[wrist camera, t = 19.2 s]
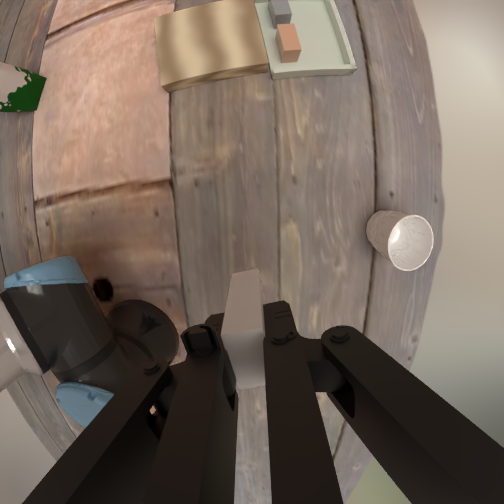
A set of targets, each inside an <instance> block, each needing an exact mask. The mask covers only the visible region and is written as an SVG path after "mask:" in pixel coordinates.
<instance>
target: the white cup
mask: <svg viewBox="0 0 504 504" xmlns="http://www.w3.org/2000/svg"><path fill="white" fill-rule="evenodd" d="M366 235H367V239H368V241H369V242H370V243H371V245H372V246H373V247H374V248H375V249H376V250H377V251H378V252H379V253H381V254H382V255H383V256H384V257H385V258H386V259H387V260H389V261H390V262H391V263H392V264H393V265H394V266H396V267H397V268H398V269H400V270H403V271H412V270H415V269H417V268H419V267H420V266H422V265H423V264H424V263H425V262H426V260H427V259H428V257H429V256H430V254H431V251H432V248H433V232H432V228H431V226H430V224H429V223H428V222H427V221H426V220H425V219H424V218H423V217H421V216H418V215H413V214H408V213H404V212H398V211H390V210H379V211H378V212H376V213H374V214H373V215H372V216H371V218H370V219H369V221H368V222H367V227H366Z"/></svg>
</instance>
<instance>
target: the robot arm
mask: <svg viewBox="0 0 504 504" xmlns="http://www.w3.org/2000/svg"><path fill="white" fill-rule="evenodd" d="M4 288H5V289H7V290H6V291H4V292H2V293H1V294H0V392H1V391H2V390H4V389H5V388H6V387H7V386H9V385H10V384H11V383H13V382H14V381H15V380H17V379H18V378H19V377H20V376H22V375H23V374H24V373H27V372H30V373H34V374H38V375H43V374H44V373H46V372H47V371H48V370H50V369H51V371H52V372H53V373H54V375H55V376H56V378H57V379H58V381H59V382H60V384H59V385H58V386H57V388H56V389H57V390H56V397H57V402H58V404H59V405H60V407H61V408H62V409H63V411H64V412H65V413H66V414H67V415H68V416H70V417H71V418H72V419H73V420H74V421H76V422H77V423H79V424H80V425H82V426H84V427H86V428H85V429H84V430H83V432H82V433H81V434H80V435H79V436H78V437H77V439H76V440H75V441H74V442H73V443H72V445H71V446H70V447H69V448H68V449H67V450H66V452H65V453H64V454H63V455H62V456H61V458H60V459H59V460H58V461H57V462H56V464H55V465H54V466H53V467H52V468H51V469H50V471H49V472H48V473H47V474H46V475H45V477H44V478H43V479H42V480H41V481H40V483H39V484H38V485H37V486H36V487H35V489H34V490H33V491H32V492H31V493H30V495H29V496H28V497H27V498H26V500H25V501H24V502H23V503H22V504H141V503H142V504H234V487H235V463H236V441H237V419H238V394H237V392H236V389H235V387H236V383H237V386H238V388H239V390H240V389H247V388H253V387H260V386H266V402H267V420H268V437H269V455H270V473H271V492H272V504H343V500H342V496H341V492H340V487H339V483H338V479H337V475H336V471H335V467H334V463H333V459H332V455H331V451H330V447H329V443H328V439H327V435H326V431H325V427H324V423H323V419H322V416H321V412H320V408H319V404H318V400H317V397H316V393H315V392H326V393H327V395H328V397H329V398H330V400H331V401H332V402H333V404H334V405H335V406H336V408H337V409H338V410H339V412H340V413H341V414H342V416H343V417H344V418H345V420H346V421H347V422H348V423H349V425H350V426H351V427H352V429H353V430H354V431H355V433H356V434H357V435H358V437H359V438H360V439H361V440H362V442H363V443H364V444H365V446H366V447H367V448H368V449H369V451H370V452H371V453H372V455H373V456H374V457H375V458H376V460H377V461H378V462H379V463H380V465H381V466H382V467H383V469H384V470H385V471H386V472H387V474H388V475H389V476H390V477H391V479H392V480H393V481H394V482H395V484H396V485H397V486H398V487H399V489H400V490H401V491H402V492H403V493H404V495H405V496H406V497H407V498H408V500H409V501H410V502H411V503H412V504H504V448H503V447H502V446H500V445H499V444H498V443H497V442H496V441H494V440H493V439H492V438H491V437H490V436H488V435H487V434H486V433H485V432H483V431H482V430H481V429H480V428H479V427H477V426H476V425H475V424H474V423H472V422H471V421H470V420H469V419H467V418H466V417H465V416H464V415H463V414H461V413H460V412H459V411H458V410H456V409H455V408H454V407H453V406H451V405H450V404H449V403H448V402H446V401H445V400H444V399H443V398H442V397H440V396H439V395H438V394H437V393H435V392H434V391H433V390H431V389H430V388H429V387H428V386H427V385H425V384H424V383H423V382H422V381H420V380H419V379H418V378H417V377H415V376H414V375H413V374H412V373H410V372H409V371H408V370H407V369H406V368H404V367H403V366H402V365H401V364H399V363H398V362H397V361H396V360H394V359H393V358H392V357H391V356H389V355H388V354H387V353H386V352H384V351H383V350H382V349H381V348H379V347H378V346H377V345H376V344H374V343H373V342H372V341H371V340H369V339H368V338H367V337H366V336H364V335H363V334H362V333H361V332H359V331H358V330H357V329H355V328H353V327H351V326H336V327H332V328H330V329H328V330H326V331H325V332H324V333H323V334H322V336H321V339H308V338H304V337H302V336H300V335H299V333H298V332H297V329H296V326H295V322H294V319H293V315H292V312H291V308H290V305H289V304H288V303H287V302H285V301H284V300H283V301H278V302H273V303H268V304H266V301H265V297H264V292H263V288H262V283H261V279H260V274H259V270H258V268H257V269H253V270H248V271H243V272H238V273H233V274H232V277H231V283H230V288H229V293H228V298H227V304H226V309H225V313H220V314H214V315H211V316H210V317H209V318H208V319H207V320H206V321H205V324H199V325H195V326H192V327H190V328H188V329H186V330H185V331H184V332H183V333H182V334H181V335H180V336H181V339H182V341H183V344H184V346H185V349H186V351H187V357H186V360H185V361H183V362H181V363H178V364H175V365H171V366H169V365H170V364H171V363H172V362H173V360H174V358H175V356H176V354H177V351H178V348H179V337H178V333H177V331H176V328H175V326H174V325H173V323H172V321H171V320H170V319H169V318H168V317H167V315H166V314H165V313H163V312H162V311H161V310H160V309H158V308H157V307H155V306H153V305H151V304H149V303H147V302H143V301H139V300H127V301H124V302H121V303H119V304H118V305H116V306H115V307H114V308H113V309H112V310H111V311H110V312H109V314H108V315H107V317H106V318H105V316H104V314H103V312H102V310H101V308H100V306H99V304H98V302H97V300H96V298H95V296H94V294H93V292H92V290H91V288H90V286H89V281H88V280H87V279H86V278H85V276H84V274H83V272H82V270H81V268H80V266H79V264H78V262H77V261H76V260H75V259H74V258H73V257H70V256H61V257H57V258H53V259H50V260H47V261H44V262H41V263H38V264H35V265H33V266H30V267H27V268H25V269H23V270H21V271H18V272H16V273H13V274H11V275H9V276H7V277H6V278H5V279H4ZM152 406H154V407H155V409H156V411H155V412H154V413H153V414H151V413H150V411H149V410H150V409H151V407H152Z"/></svg>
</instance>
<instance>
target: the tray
mask: <svg viewBox="0 0 504 504" xmlns="http://www.w3.org/2000/svg"><path fill="white" fill-rule="evenodd" d="M288 3H289V6H290V9H291V12H292V17H291V21H290V24H292V23H294V25H295V28H296V31H297V35H298V38H299V42H300V45H301V49H302V50H301V53H300V55H299V58H298V61H297V62H291V63H281V59H280V55H279V51H278V47H277V43H276V39H275V38H276V30H277V29H274V28H273V25H272V21H271V18H270V14H269V11H268V0H254V5H255V8H256V12H257V16H258V20H259V24H260V28H261V32H262V36H263V40H264V44H265V48H266V52H267V57H268V61H269V66H270V70H271V74H272V79H273V80H276V79H286V78H296V77H309V76H329V75H351V74H352V73H353V72H354V71H355V70H356V69H357V68H356V64H355V61H354V57H353V54H352V51H351V47H350V44H349V41H348V38H347V35H346V32H345V29H344V26H343V24H342V21H341V18H340V15H339V13H338V10H337V7H336V5H335V2H334V0H288Z"/></svg>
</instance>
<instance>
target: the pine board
mask: <svg viewBox="0 0 504 504" xmlns="http://www.w3.org/2000/svg"><path fill="white" fill-rule="evenodd" d="M154 21H155V34H156V45H157V56H158V65H159V74H160V83H161V86H162V87H163V88H164V89H165V90H166V91H167V92H173V91H176V90H180V89H184V88H188V87H192V86H196V85H200V84H204V83H209V82H213V81H218V80H223V79H228V78H233V77H239V76H245V75H252V74H258V73H266V72H268V65H269V62H268V58H267V53H266V49H265V45H264V41H263V37H262V32H261V28H260V25H259V21H258V17H257V13H256V9H255V5H254V2H253V0H224V1H219V2H213V3H209V4H204V5H199V6H195V7H191V8H187V9H183V10H180V11H176V12H172V13H169V14H166V15H163V16H159V17H156V18H154Z"/></svg>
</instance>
